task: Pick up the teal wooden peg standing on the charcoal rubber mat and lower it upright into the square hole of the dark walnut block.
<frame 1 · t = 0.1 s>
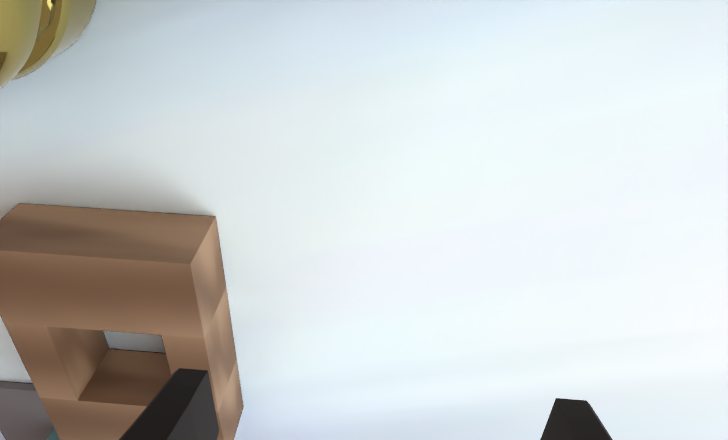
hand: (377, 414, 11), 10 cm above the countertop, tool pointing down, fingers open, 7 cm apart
mat: (83, 432, 30), on the countertop
hole block: (146, 318, 25), on the countertop
peg: (79, 438, 30), resting on mat
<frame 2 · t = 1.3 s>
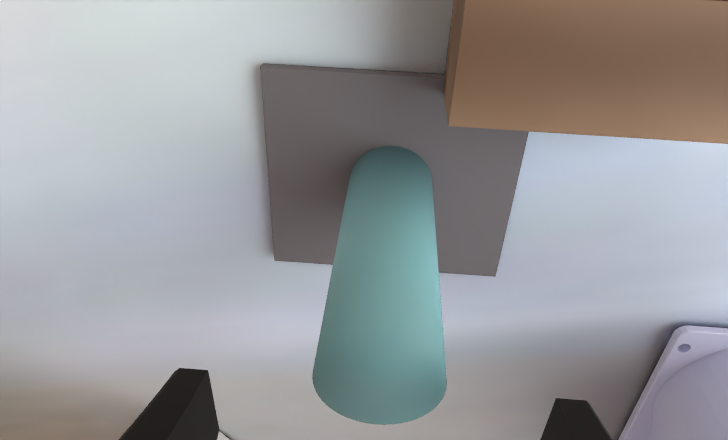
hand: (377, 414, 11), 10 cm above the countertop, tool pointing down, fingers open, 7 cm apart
mat: (390, 177, 20), on the countertop
peg: (390, 183, 19), resting on mat
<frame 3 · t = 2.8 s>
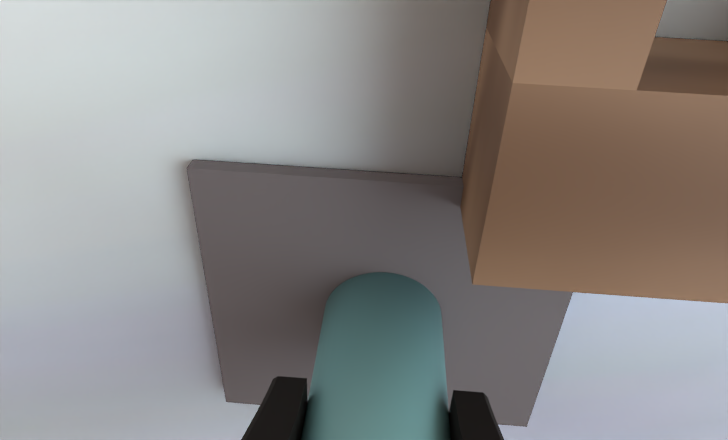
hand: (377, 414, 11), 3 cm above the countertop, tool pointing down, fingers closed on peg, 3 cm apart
mat: (383, 306, 14), on the countertop
peg: (382, 317, 14), resting on mat, touching gripper
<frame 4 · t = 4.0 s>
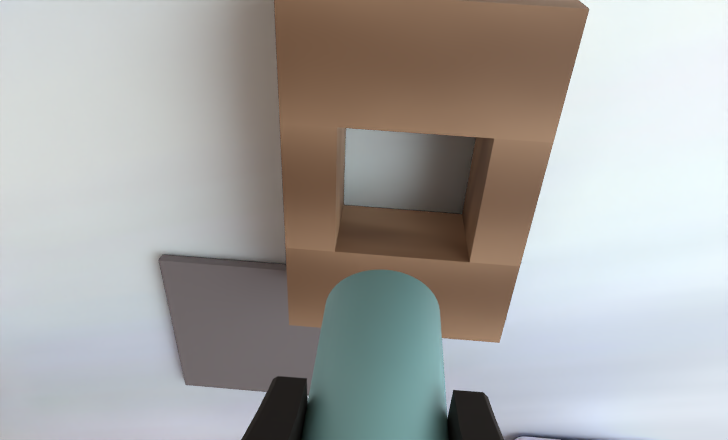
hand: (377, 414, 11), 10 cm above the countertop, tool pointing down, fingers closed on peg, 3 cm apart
mat: (271, 330, 25), on the countertop
hole block: (408, 156, 19), on the countertop
peg: (382, 313, 14), point 7 cm above the countertop, touching gripper
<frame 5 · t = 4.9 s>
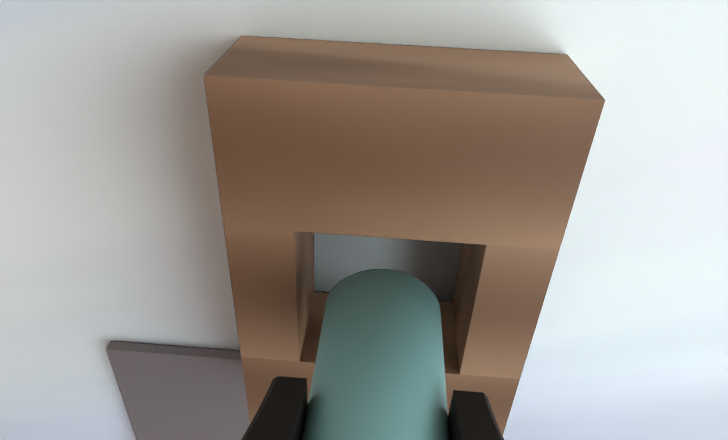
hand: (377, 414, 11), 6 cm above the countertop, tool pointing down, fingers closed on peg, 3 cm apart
mat: (239, 417, 22), on the countertop
hole block: (387, 241, 16), on the countertop
peg: (382, 313, 14), point 3 cm above the countertop, touching gripper
when the fingers open (4 cm above the countertop, at t = 5.7 s): peg stays where it is, resting in hole block.
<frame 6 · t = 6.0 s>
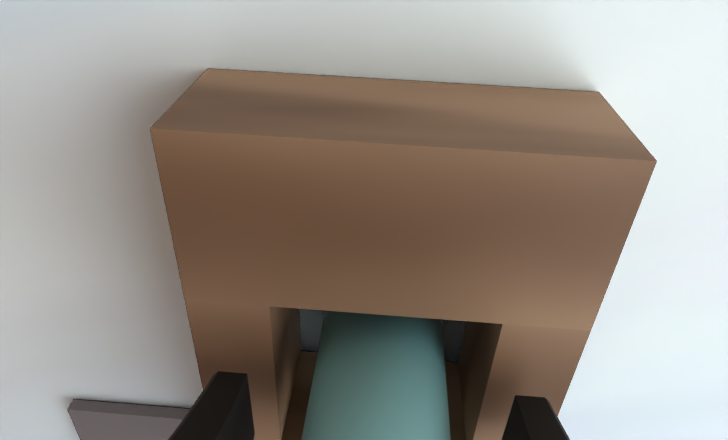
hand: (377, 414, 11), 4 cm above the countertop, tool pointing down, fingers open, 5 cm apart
hole block: (383, 298, 14), on the countertop
peg: (383, 300, 14), resting in hole block
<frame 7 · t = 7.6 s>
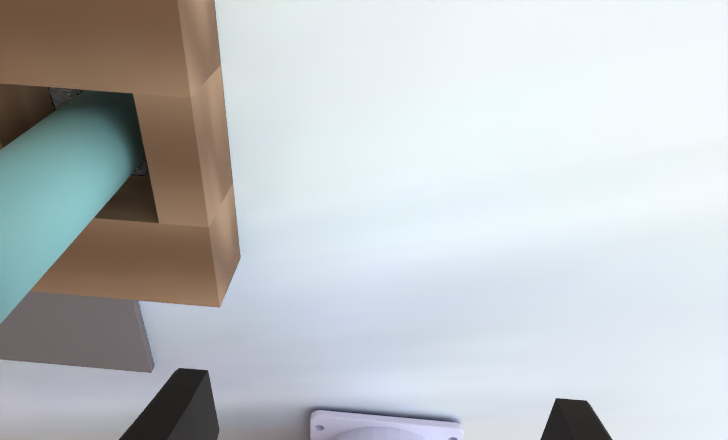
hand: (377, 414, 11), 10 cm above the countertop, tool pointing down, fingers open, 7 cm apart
mat: (44, 300, 25), on the countertop
hole block: (118, 119, 19), on the countertop
peg: (119, 121, 19), resting in hole block
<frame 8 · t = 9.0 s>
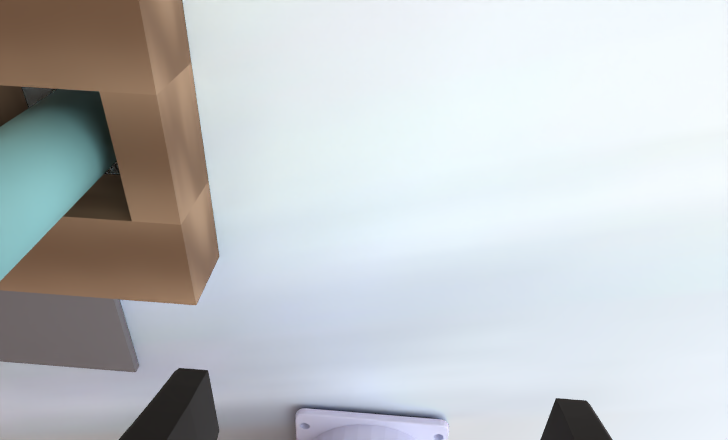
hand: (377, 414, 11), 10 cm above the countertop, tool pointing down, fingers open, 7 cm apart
mat: (27, 300, 25), on the countertop
hole block: (92, 118, 19), on the countertop
peg: (93, 121, 19), resting in hole block
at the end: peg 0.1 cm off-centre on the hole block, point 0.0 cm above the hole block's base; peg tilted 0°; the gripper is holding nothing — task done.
